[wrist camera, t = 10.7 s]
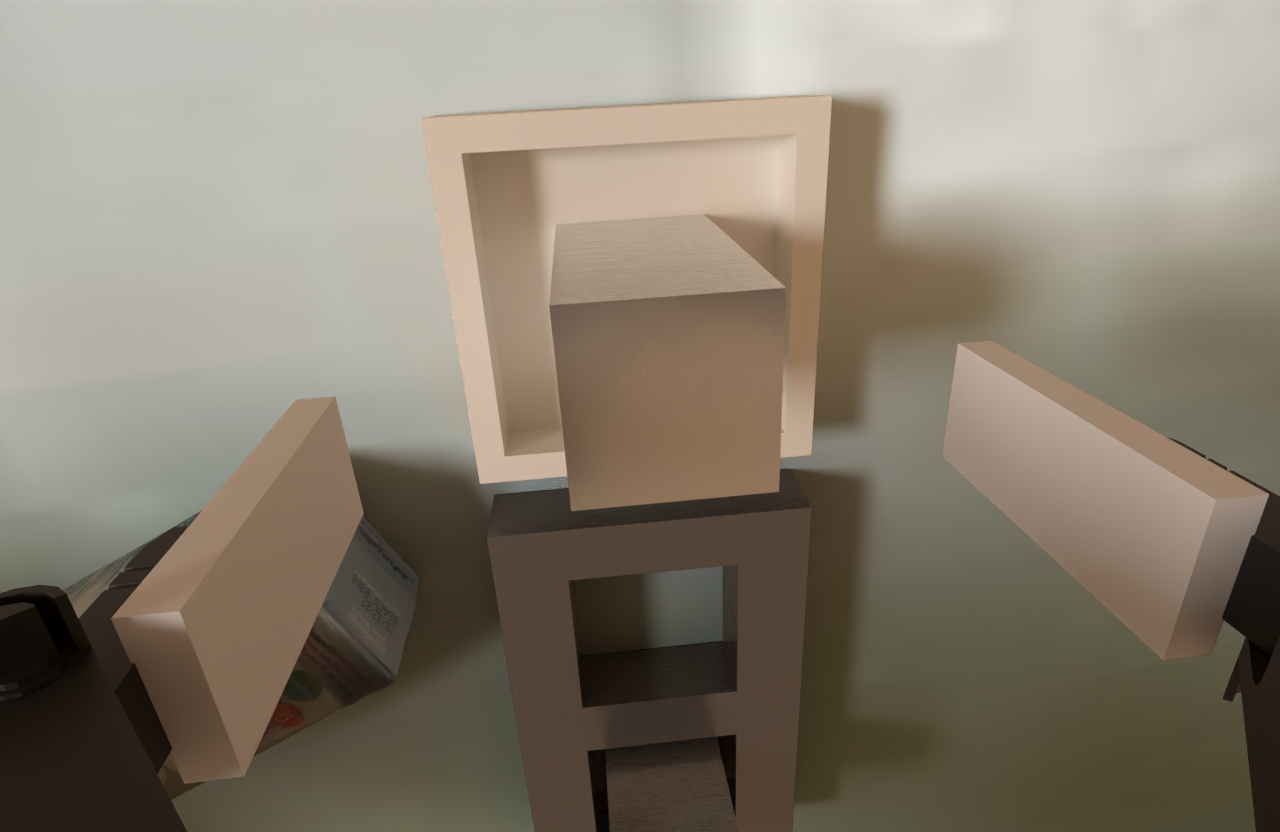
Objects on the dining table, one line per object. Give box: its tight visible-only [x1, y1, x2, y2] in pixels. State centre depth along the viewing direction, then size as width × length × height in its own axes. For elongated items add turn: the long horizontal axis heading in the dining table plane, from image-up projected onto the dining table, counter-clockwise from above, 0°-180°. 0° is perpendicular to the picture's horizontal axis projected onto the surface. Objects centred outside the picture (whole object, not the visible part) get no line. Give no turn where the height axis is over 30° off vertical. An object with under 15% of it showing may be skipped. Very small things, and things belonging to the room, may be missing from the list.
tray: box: [421, 95, 832, 484], centre depth 24 cm, size 12×12×3 cm
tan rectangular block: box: [549, 214, 786, 511], centre depth 21 cm, size 5×5×10 cm
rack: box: [487, 469, 812, 832], centre depth 32 cm, size 12×20×3 cm, turn 3°
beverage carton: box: [63, 512, 420, 800], centre depth 27 cm, size 8×19×7 cm, turn 119°
